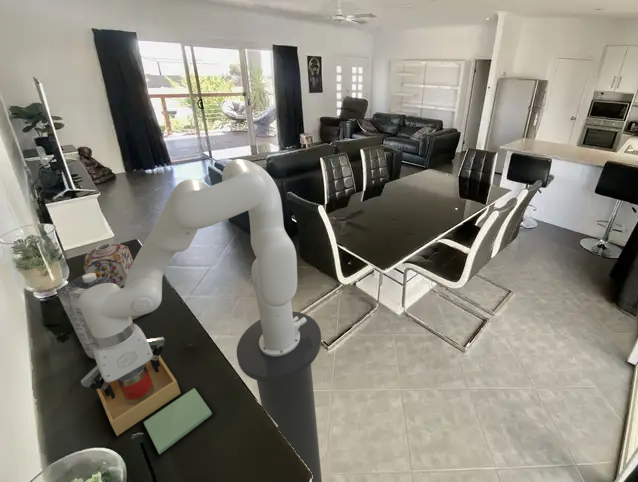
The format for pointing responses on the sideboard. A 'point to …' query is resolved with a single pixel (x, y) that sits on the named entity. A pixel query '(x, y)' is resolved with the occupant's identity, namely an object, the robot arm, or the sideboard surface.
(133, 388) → the can
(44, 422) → the sideboard surface
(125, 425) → the open wooden box
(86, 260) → the decorative jar
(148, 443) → the sideboard surface
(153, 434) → the mat
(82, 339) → the juice carton
